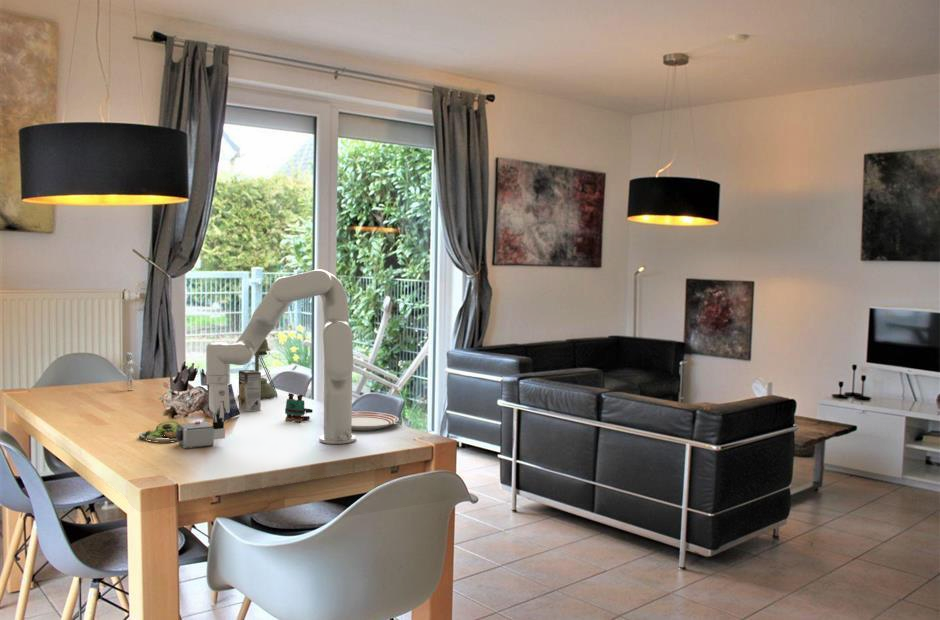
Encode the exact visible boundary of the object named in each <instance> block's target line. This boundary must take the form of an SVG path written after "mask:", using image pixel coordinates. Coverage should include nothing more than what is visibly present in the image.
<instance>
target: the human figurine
mask: <svg viewBox="0 0 940 620" xmlns="http://www.w3.org/2000/svg"><path fill="white" fill-rule="evenodd" d="M133 364H134V365H135V367H137V368H139V370H141V371H143V369H142V368H141V367H140V366H138V364H136V362H135V361H134V360H133V354H132V352H126V353H125V361H123V363H122V364H121V365H120V366H119V368H118V369H117V370H116V371H115V373H117V372H119V370H120V369H121V368H123V367H124V365H126V366H127V367H126V368H125V370H124V371H125V373H124V374H125V376H126V379H127V380H126V387H127V388H128V389H131V388H132V389H133V376H134V369H133V367H132V366H133ZM129 387H130V388H129ZM127 388H126V389H127Z"/></svg>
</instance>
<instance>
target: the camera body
mask: <svg viewBox="0 0 940 620" xmlns="http://www.w3.org/2000/svg"><path fill="white" fill-rule="evenodd" d="M178 424H179V430H177V431H176V438H177V441H178V442H179V444H180V446H181V447H182V448H184V429H187V430H195V429H206V428H213V424H211V423H209V422H208V421H194V422H186V423H178ZM204 446H206V447H214V444H213V445H203V446H193V447H196V448H202V447H203V448H204ZM186 449H191V448H190V447H187V448H186Z"/></svg>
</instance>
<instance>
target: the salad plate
mask: <svg viewBox="0 0 940 620" xmlns="http://www.w3.org/2000/svg"><path fill="white" fill-rule="evenodd" d="M179 424H180V423H178V422H177V421H173V420H170V421H164V422H162V423H159V424H157V426H156V428H155V430H148V431H144V432H141V433H139V434H138V436H139V439H141V438H142V439H147V440H151V441H158V442H170V443H172V442H171V441H177V438H176V431H177V430H179ZM164 435H165V436H164ZM156 438H169V439H156ZM142 439H141V440H142ZM151 441H150V442H151ZM158 442H157V443H158Z"/></svg>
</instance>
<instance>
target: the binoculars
mask: <svg viewBox="0 0 940 620" xmlns="http://www.w3.org/2000/svg"><path fill="white" fill-rule="evenodd" d="M287 394H288V395H287V396H288V398H286V402H285V403H286V405H285V409H284V411H285V412H284V413H285V415H286V417H285V421H286V422H287V421H292V420H293V419H294V422H295V423H300V422H302V421H303V420H310V417H311V416H309V415H308V416H307V415H306V414H310V413H311V414H312V413H313V411H314V410H313V409H311V408H305V400H303V396H304V395H303V394H298V395H297V396H296V397H297V399H294V396H295V395H294V394H293V393H289V392H288V393H287Z"/></svg>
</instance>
